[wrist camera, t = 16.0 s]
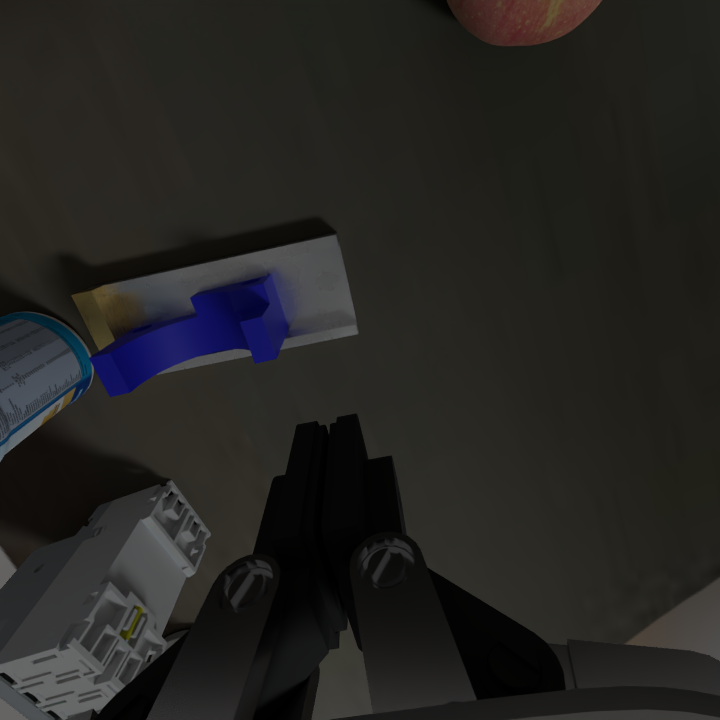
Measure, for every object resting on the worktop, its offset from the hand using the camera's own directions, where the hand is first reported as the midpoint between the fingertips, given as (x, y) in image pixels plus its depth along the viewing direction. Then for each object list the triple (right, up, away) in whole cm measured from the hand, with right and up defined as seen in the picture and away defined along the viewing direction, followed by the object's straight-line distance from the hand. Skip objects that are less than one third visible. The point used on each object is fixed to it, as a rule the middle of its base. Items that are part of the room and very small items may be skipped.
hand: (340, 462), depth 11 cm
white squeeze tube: (-10, +7, +21) cm, 24 cm away
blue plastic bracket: (-11, +6, +21) cm, 25 cm away
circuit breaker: (-23, -14, +30) cm, 40 cm away
